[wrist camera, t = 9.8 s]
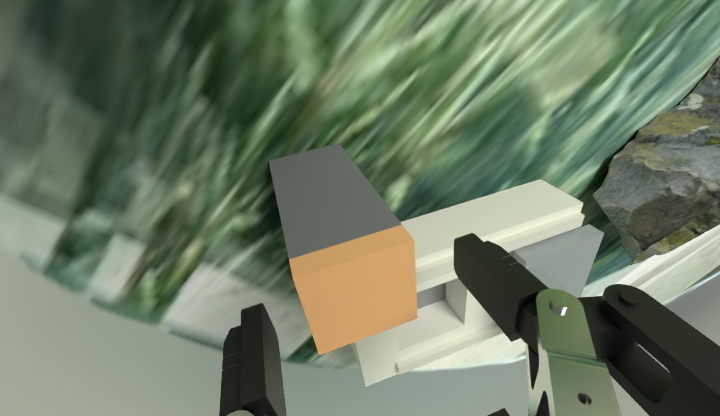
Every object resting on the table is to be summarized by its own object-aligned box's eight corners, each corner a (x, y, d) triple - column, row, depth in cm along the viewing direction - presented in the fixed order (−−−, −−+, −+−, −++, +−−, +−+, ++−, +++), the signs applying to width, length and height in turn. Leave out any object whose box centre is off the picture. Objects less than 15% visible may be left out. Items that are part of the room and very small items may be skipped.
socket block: (327, 244, 22) (344, 289, 19) (540, 179, 26) (589, 206, 22) (351, 345, 29) (367, 392, 25) (518, 282, 33) (554, 315, 29)
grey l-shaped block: (513, 250, 22) (555, 286, 20) (589, 224, 24) (638, 253, 21) (500, 322, 27) (532, 359, 24) (564, 296, 28) (602, 329, 25)
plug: (268, 160, 18) (293, 279, 10) (338, 143, 19) (414, 240, 11) (287, 219, 20) (319, 355, 12) (349, 202, 21) (417, 318, 13)
